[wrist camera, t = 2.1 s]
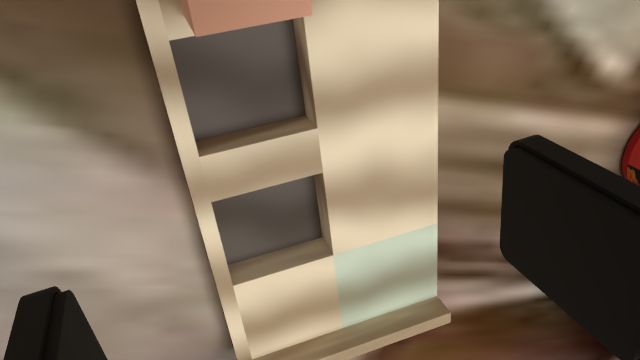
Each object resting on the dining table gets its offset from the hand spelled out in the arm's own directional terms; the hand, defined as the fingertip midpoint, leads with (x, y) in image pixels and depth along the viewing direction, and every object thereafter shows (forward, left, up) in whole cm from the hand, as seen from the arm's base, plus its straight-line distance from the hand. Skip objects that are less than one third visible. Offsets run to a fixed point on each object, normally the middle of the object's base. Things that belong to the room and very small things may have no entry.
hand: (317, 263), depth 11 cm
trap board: (+7, +5, -21) cm, 22 cm away
